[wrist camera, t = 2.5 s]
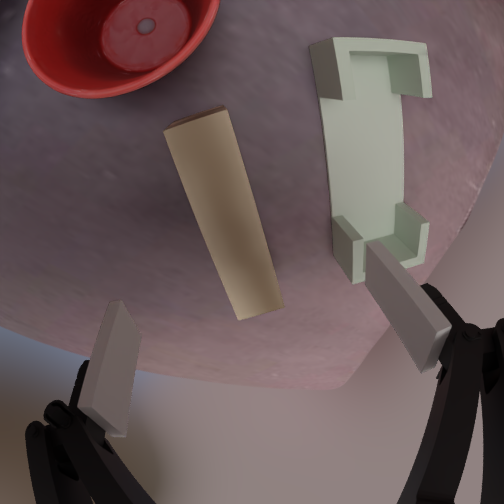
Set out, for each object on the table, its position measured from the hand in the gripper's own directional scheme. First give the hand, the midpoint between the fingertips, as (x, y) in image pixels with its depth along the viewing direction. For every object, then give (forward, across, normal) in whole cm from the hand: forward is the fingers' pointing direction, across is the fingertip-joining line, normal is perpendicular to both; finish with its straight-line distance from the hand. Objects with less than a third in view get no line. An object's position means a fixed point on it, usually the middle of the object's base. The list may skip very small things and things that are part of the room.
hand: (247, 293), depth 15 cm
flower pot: (+12, -3, +16) cm, 21 cm away
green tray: (+12, +13, +2) cm, 18 cm away
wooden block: (+12, 0, 0) cm, 12 cm away
